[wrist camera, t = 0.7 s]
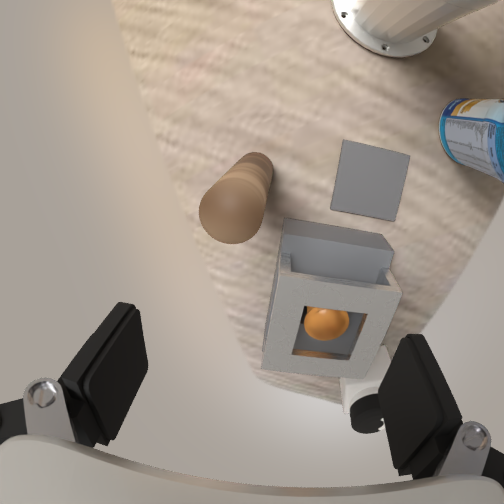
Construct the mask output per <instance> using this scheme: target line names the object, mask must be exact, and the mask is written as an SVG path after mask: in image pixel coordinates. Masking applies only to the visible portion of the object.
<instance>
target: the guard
mask: <svg viewBox="0 0 504 504" xmlns="http://www.w3.org/2000/svg"><path fill="white" fill-rule="evenodd" d="M402 293H403V292H402V291H401V289H400V287H399V285H398V283H397V282H396V280H395V278H394V276H393V275H392V273H391V271H390V269H389V268H383V267H381V268H380V271H379V274H378V277H377V280H376V283H375V284H372V283H365V282H358V281H351V280H344V279H337V278H330V277H323V276H316V275H310V274H303V273H296V272H291V257H290V253H287V252H281V253H280V259H279V273H278V283H277V288H276V293H275V299H274V304H273V309H272V314H271V320H270V325H269V330H268V334H266V335H265V340H264V349H263V357H262V366H261V369H265V370H273V371H280V372H288V373H297V374H306V375H316V376H327V377H339V378H354V379H364V378H365V376H366V374H367V372H368V370H369V368H370V366H371V364H372V362H373V360H374V358H375V356H376V354H377V351H378V349H379V347H380V345H381V343H382V341H383V339H384V336H385V334H386V332H387V330H388V327H389V325H390V323H391V320H392V318H393V316H394V313H395V311H396V308H397V306H398V304H399V301H400V299H401V296H402ZM304 306H310V307H317V308H325V309H333V310H341V311H349V312H357V313H364V315H363V317H362V320H361V323H360V325H359V328H358V330H357V333H356V336H355V338H354V341H353V343H352V345H351V348H350V350H349V353H348V354H337V353H327V352H317V351H309V350H300V349H293V347H294V343H295V339H296V336H297V332H298V328H299V324H300V321H301V317H302V313H303V309H304Z"/></svg>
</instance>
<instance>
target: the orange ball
mask: <svg viewBox="0 0 504 504" xmlns="http://www.w3.org/2000/svg"><path fill="white" fill-rule="evenodd" d="M348 325H349V316H348V313H347V311H341V310H333V309H325V308H317V307H310V306H307V314H306V316H305V319H304V327H305V330H306V332H307V333H308V335H309V336H311V337H312V338H314V339H317V340H322V341H327V340H332V339H335V338H337V337H339V336H341V335H342V334H343V333H344V332H345V331H346V329H347V328H348Z"/></svg>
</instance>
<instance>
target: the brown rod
mask: <svg viewBox="0 0 504 504" xmlns="http://www.w3.org/2000/svg"><path fill="white" fill-rule="evenodd" d="M272 175H273V165H272V163H271V161H270V159H269V158H268V157H267V156H265V155H264V154H261V153H257V152H252V153H248V154H246V155H245V156H243V157H242V158H241V159H240V160H239V161H238V162H237V163H236V164H235V165H234V166H233V167H232V168H231V169H230V170H229V171H228V172H227V173H225V174H224V175H223V176H222V177H221V178H220V179H219V180H218V181H217V182H216V183H215V184H214V185H213V186H212V187H211V188H210V189H209V190H208V191H207V192H206V194H205V195H204V196H203V198H202V200H201V202H200V206H199V217H200V221H201V224H202V226H203V228H204V229H205V231H206V232H207V233H208V234H209V235H210V236H211V237H212V238H214V239H216V240H217V241H220V242H222V243H226V244H238V243H242V242H245V241H247V240H249V239H250V238H252V237H253V236H254V235H255V234H256V233H257V231H258V230H259V228H260V226H261V223H262V219H263V215H264V210H265V206H266V202H267V197H268V193H269V188H270V184H271V180H272Z"/></svg>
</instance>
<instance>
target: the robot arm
mask: <svg viewBox="0 0 504 504" xmlns="http://www.w3.org/2000/svg"><path fill="white" fill-rule="evenodd" d="M498 1H500V0H331V3H332V9H333V11H334V14H335V17H336V19H337V20H338V22H339V24H340V25H341V27H342V28H343V29H344V30H345V32H346V33H347V34H348V35H349V36H350V37H351V38H353V39H354V40H355V41H356V42H357V43H359V44H360V45H362V46H363V47H365V48H367V49H369V50H371V51H373V52H375V53H378V54H381V55H384V56H389V57H395V58H400V57H409V56H414V55H416V54H419V53H421V52H422V51H424V50H426V49H427V48H428V47H429V46H430V45H431V44H432V42H433V41H434V39H435V37H436V34H437V30H438V28H440V27H442V26H444V25H446V24H448V23H450V22H452V21H455V20H457V19H459V18H461V17H464V16H466V15H468V14H470V13H473V12H475V11H478V10H480V9H482V8H485V7H487V6H490V5H492V4H494V3H496V2H498ZM342 15H343V16H345V18H342V17H341V16H342ZM423 40H424V41H425V42H424V41H423ZM382 47H384V48H385V51H384V50H383V49H382ZM147 370H148V360H147V354H146V348H145V342H144V336H143V330H142V323H141V316H140V311H139V310H138V309H136V307H135V305H133V304H128V303H123V302H118V303H117V304H116V306H115V307H114V308H113V310H112V311H111V312H110V313H109V315H108V316H107V317H106V318H105V320H104V321H103V322H102V323H101V325H100V326H99V327H98V329H97V330H96V331H95V333H93V334H92V335H91V336H90V338H89V339H88V340H87V341H86V343H85V344H84V345H83V347H82V348H81V349H80V351H79V352H78V353H77V355H76V356H75V357H74V359H73V360H72V361H71V363H70V364H69V365H68V367H67V368H66V370H65V371H64V372H63V374H62V375H61V377H60V378H59V379H58V381H55V380H53V379H50V378H40V379H37V380H34V381H33V382H31V383H30V384H29V385H28V386H27V387H26V389H25V391H24V395H23V398H22V399H19V400H15V401H11V402H7V403H3V404H0V504H504V454H503V453H501V452H499V451H498V450H496V449H494V448H492V447H490V446H491V436H490V433H489V432H488V430H487V429H486V428H485V427H484V426H483V425H482V424H480V423H478V422H474V421H469V422H465V423H464V424H463V422H462V420H461V419H462V415H461V413H460V411H459V409H458V406H457V404H456V401H455V399H454V397H453V395H452V393H451V390H450V388H449V386H448V384H447V382H446V380H445V378H444V375H443V373H442V371H441V369H440V367H439V365H438V363H437V361H436V359H435V357H434V355H433V353H432V351H431V349H430V347H429V345H428V343H427V341H426V340H425V337H424V336H423V335H422V334H407V335H406V337H405V338H402V339H401V341H400V343H399V346H398V348H397V350H396V352H395V355H394V357H393V359H392V361H391V363H390V366H389V368H388V370H387V372H386V374H385V376H384V378H383V380H382V382H381V384H380V386H379V389H378V399H379V403H380V407H381V411H382V416H383V420H384V424H385V428H386V433H387V437H388V442H389V446H390V451H391V456H392V461H393V466H394V468H395V469H398V473H399V476H403V475H409V474H412V477H413V480H410V481H404V482H395V483H387V484H378V485H367V486H354V487H333V488H332V487H331V488H298V487H275V486H262V485H252V484H242V483H234V482H227V481H219V480H213V479H208V478H202V477H196V476H191V475H186V474H182V473H177V472H172V471H168V470H164V469H160V468H156V467H152V466H148V465H145V464H141V463H138V462H134V461H131V460H128V459H124V458H120V457H117V456H115V455H111V454H108V453H105V452H103V451H100V450H97V449H94V448H93V447H94V446H95V444H96V442H97V443H99V444H102V445H105V446H108V444H109V442H110V440H114V439H115V438H116V436H117V434H118V432H119V430H120V428H121V425H122V423H123V421H124V419H125V417H126V415H127V412H128V411H129V408H130V406H131V404H132V402H133V400H134V398H135V396H136V394H137V392H138V389H139V387H140V385H141V383H142V381H143V379H144V377H145V375H146V373H147Z"/></svg>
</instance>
